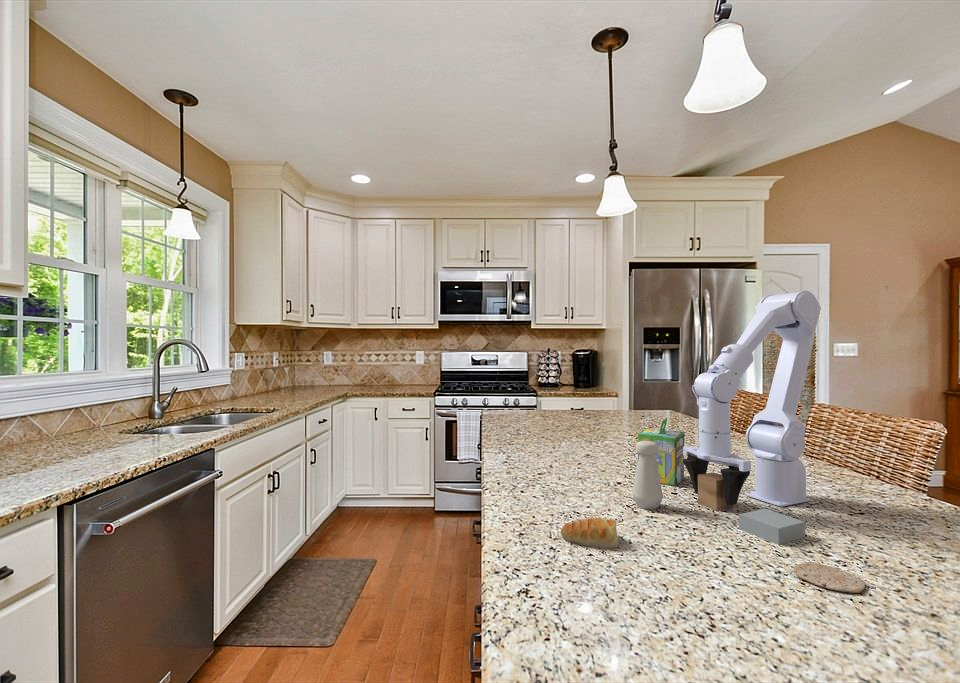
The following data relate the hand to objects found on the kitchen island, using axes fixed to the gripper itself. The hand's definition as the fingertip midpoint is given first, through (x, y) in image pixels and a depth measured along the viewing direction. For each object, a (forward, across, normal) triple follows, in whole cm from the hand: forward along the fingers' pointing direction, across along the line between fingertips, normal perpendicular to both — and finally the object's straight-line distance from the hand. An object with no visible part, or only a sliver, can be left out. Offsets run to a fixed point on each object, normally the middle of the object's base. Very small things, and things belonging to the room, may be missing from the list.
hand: (715, 498), depth 94 cm
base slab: (+2, +14, -3) cm, 14 cm away
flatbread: (+2, +28, -11) cm, 30 cm away
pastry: (+2, +5, -33) cm, 34 cm away
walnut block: (+2, 0, 0) cm, 2 cm away
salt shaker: (+2, -5, -13) cm, 14 cm away
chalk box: (+2, -19, +4) cm, 19 cm away
